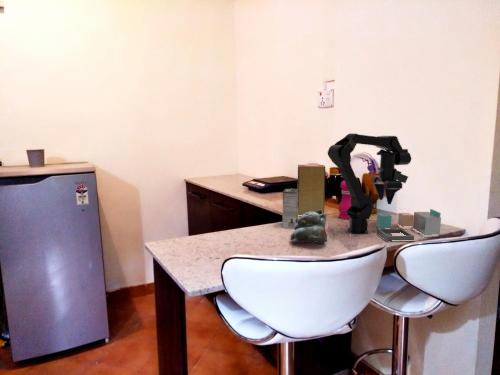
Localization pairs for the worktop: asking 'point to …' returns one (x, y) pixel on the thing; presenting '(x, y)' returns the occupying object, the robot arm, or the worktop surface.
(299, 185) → the food packaging
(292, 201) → the coffee box
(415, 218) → the panel
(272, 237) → the worktop surface
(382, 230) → the parts tray
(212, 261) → the worktop surface
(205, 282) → the worktop surface
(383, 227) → the teal block
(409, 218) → the terracotta block
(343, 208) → the pepper mill
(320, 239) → the grey-green lumpy figure
